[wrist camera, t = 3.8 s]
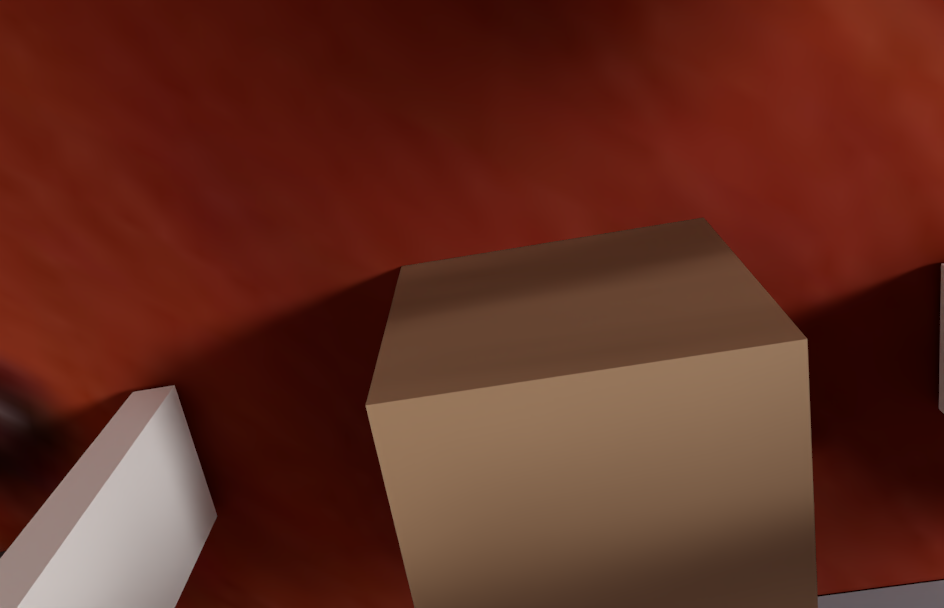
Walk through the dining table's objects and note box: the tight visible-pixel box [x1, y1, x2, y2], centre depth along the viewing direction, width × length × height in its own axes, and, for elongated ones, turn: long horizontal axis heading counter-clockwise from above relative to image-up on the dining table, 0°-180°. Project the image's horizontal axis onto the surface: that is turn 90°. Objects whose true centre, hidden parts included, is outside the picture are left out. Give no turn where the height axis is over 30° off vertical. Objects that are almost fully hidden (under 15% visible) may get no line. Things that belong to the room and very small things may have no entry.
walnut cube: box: [365, 218, 818, 608], centre depth 13 cm, size 5×5×5 cm
